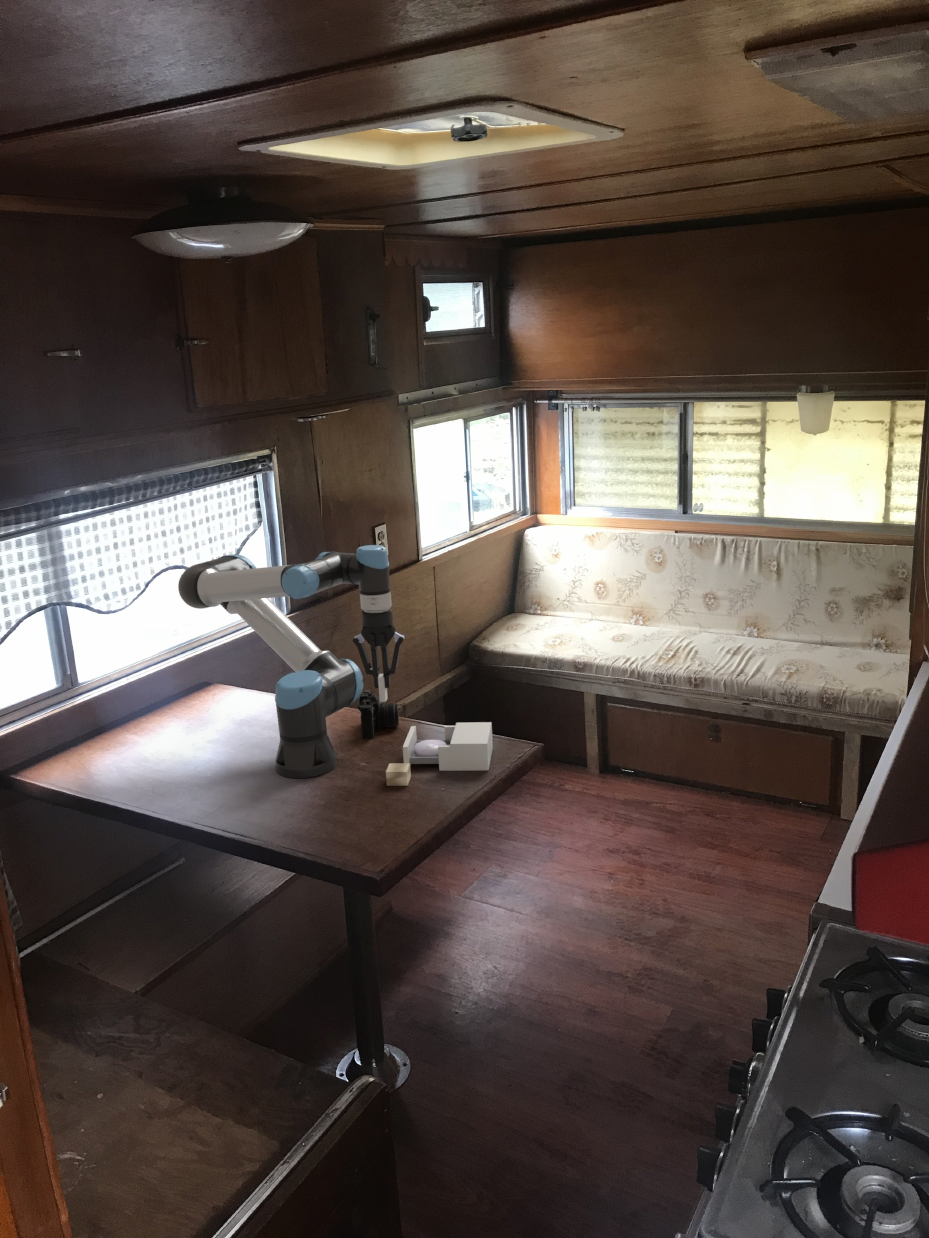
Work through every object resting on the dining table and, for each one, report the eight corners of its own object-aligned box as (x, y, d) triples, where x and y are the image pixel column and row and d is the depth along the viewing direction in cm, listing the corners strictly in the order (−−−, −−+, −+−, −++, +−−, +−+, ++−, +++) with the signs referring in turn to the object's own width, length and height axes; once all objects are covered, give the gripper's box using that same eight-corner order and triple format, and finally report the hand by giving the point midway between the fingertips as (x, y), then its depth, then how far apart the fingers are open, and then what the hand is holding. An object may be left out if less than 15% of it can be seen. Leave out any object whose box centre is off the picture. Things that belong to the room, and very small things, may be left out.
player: (439, 770, 241) (437, 743, 239) (446, 748, 254) (444, 722, 253) (488, 770, 240) (487, 743, 238) (492, 747, 253) (491, 722, 251)
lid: (444, 758, 243) (444, 751, 243) (412, 758, 244) (412, 752, 244) (448, 745, 251) (448, 739, 250) (417, 745, 252) (417, 739, 251)
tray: (401, 769, 242) (400, 747, 241) (410, 747, 255) (409, 726, 254) (452, 769, 241) (450, 746, 239) (458, 747, 254) (456, 725, 252)
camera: (398, 737, 263) (396, 702, 261) (358, 740, 263) (355, 704, 260) (400, 719, 277) (397, 685, 274) (361, 721, 277) (359, 687, 274)
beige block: (386, 785, 234) (385, 771, 233) (390, 776, 239) (389, 763, 238) (407, 785, 234) (406, 771, 233) (410, 776, 238) (410, 763, 238)
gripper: (347, 613, 238) (355, 705, 244) (400, 612, 237) (407, 705, 243) (353, 605, 245) (361, 695, 252) (405, 604, 244) (411, 694, 250)
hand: (383, 700), depth 247 cm, fingers closed
